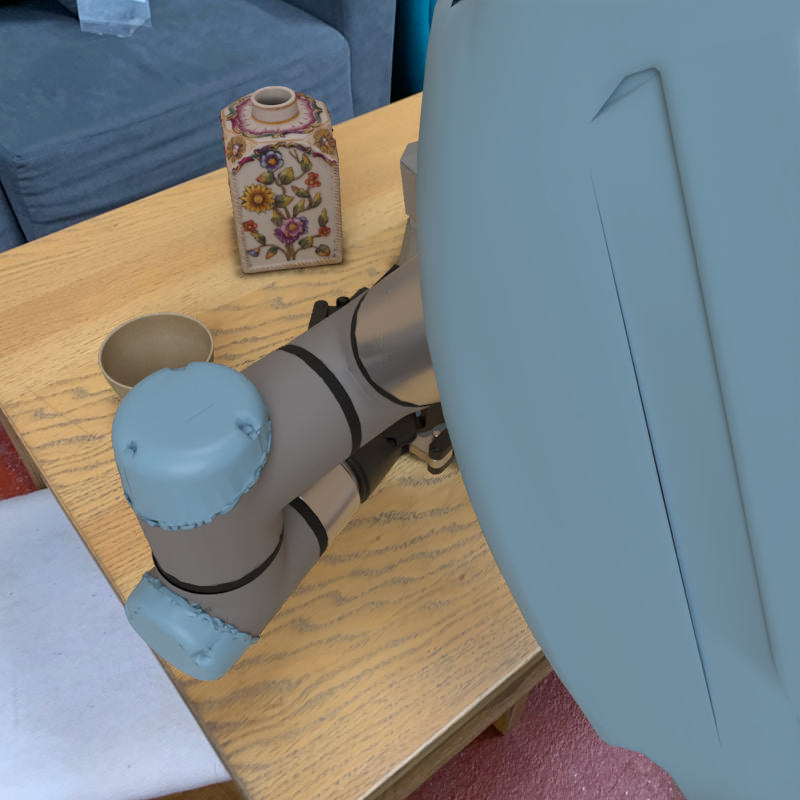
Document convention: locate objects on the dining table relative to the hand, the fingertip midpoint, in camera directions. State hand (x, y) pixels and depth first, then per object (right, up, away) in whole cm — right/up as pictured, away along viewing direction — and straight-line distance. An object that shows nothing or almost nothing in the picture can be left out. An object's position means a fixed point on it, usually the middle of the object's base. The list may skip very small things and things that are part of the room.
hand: (465, 304), depth 66 cm
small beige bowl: (-27, -9, +8) cm, 30 cm away
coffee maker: (-2, +7, +23) cm, 24 cm away
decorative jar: (-19, +11, +25) cm, 33 cm away
